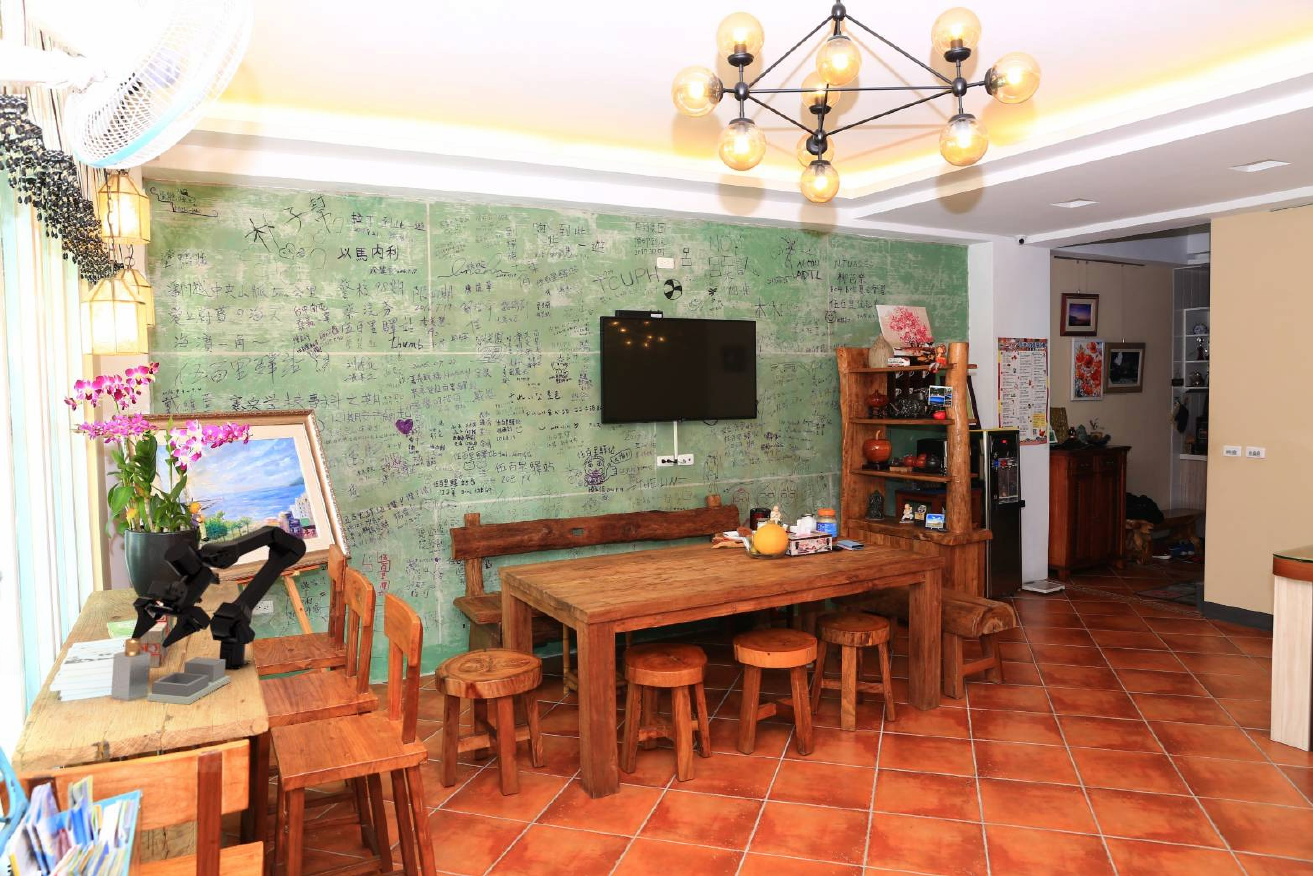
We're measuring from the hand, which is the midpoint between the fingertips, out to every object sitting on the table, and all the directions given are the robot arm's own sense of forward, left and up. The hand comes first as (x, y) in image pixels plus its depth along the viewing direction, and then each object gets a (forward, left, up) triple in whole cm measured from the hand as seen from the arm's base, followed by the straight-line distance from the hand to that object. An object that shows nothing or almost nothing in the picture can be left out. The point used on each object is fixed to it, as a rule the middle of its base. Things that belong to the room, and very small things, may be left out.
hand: (147, 643), depth 200 cm
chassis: (-3, +9, -11) cm, 14 cm away
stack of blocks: (-26, -15, -11) cm, 32 cm away
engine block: (+4, -1, -11) cm, 11 cm away
